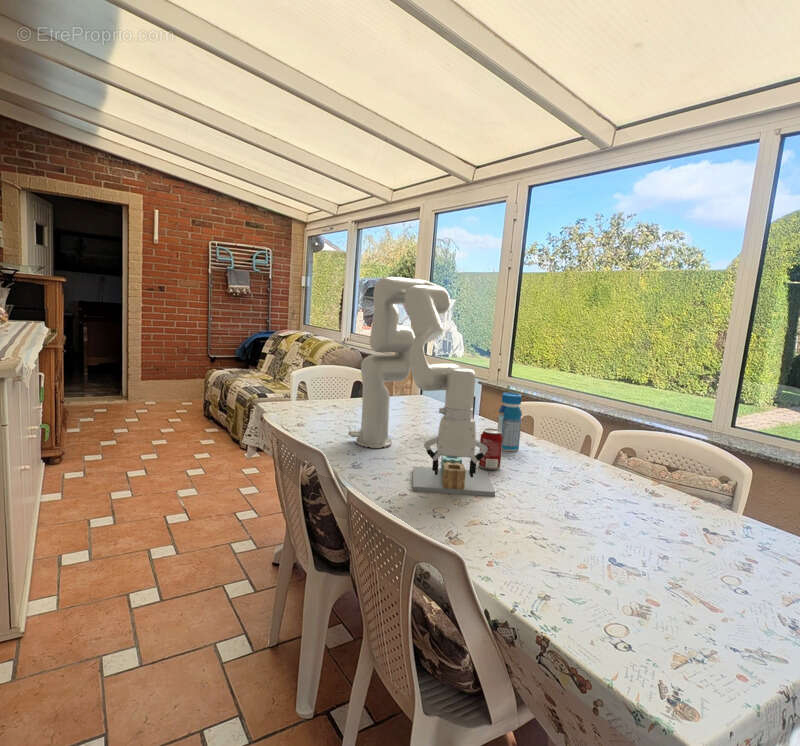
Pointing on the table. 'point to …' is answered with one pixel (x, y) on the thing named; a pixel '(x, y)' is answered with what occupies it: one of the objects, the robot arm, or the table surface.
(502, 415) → the beverage bottle
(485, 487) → the board
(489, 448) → the soda can
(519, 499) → the table surface
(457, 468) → the oak gear
